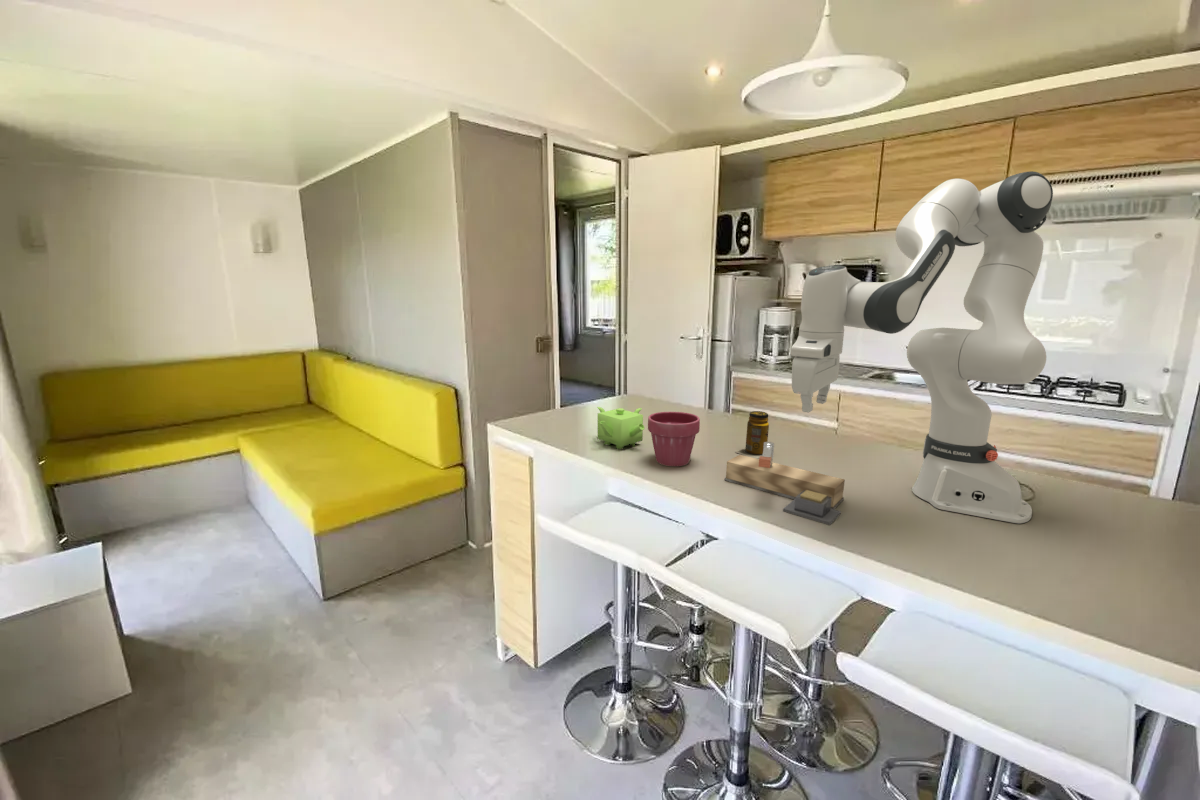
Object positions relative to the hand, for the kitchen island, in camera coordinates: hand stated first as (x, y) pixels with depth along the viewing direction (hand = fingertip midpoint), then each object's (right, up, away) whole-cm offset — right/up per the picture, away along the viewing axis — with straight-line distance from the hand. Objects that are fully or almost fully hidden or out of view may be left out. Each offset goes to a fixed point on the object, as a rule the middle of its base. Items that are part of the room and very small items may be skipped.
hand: (814, 407), depth 114 cm
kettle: (-41, -12, +47) cm, 63 cm away
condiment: (-2, -14, +39) cm, 41 cm away
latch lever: (-8, -16, +8) cm, 19 cm away
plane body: (-3, -20, +12) cm, 24 cm away
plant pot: (-27, -16, +31) cm, 44 cm away
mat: (-1, -23, 0) cm, 23 cm away
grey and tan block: (-1, -22, -1) cm, 22 cm away
